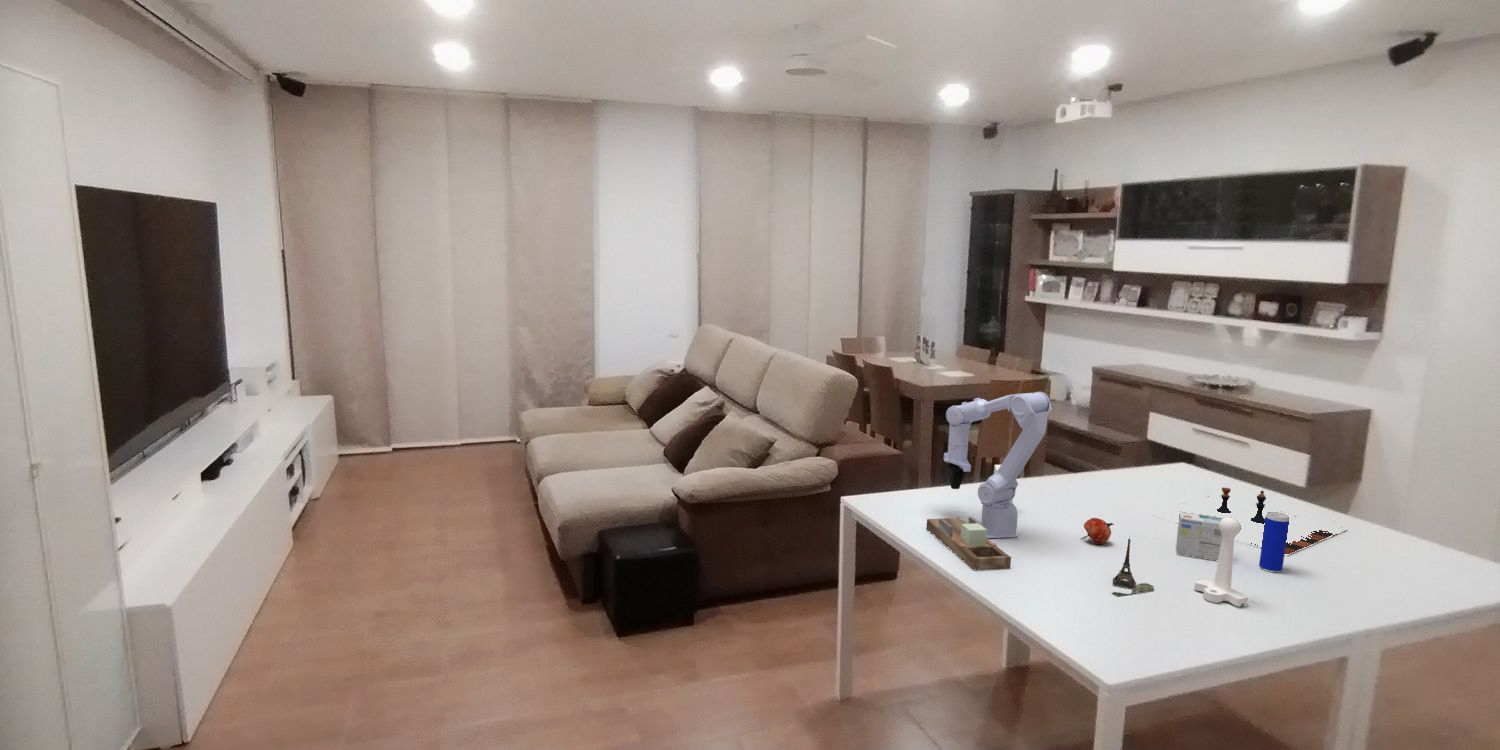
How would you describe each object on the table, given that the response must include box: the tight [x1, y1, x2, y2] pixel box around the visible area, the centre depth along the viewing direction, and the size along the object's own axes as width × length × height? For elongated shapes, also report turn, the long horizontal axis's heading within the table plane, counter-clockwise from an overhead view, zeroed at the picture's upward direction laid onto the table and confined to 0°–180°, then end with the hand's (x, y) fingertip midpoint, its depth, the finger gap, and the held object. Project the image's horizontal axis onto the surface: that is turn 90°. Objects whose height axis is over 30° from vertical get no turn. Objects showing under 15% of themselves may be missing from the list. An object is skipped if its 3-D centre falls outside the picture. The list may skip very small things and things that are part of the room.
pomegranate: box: [1080, 517, 1114, 545], centre depth 229 cm, size 7×7×10 cm
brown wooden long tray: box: [926, 516, 1012, 571], centre depth 222 cm, size 10×30×6 cm, turn 11°
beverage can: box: [1258, 512, 1289, 573], centre depth 212 cm, size 5×5×15 cm
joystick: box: [1193, 517, 1248, 607], centre depth 192 cm, size 11×8×20 cm
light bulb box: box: [1175, 511, 1223, 561], centre depth 221 cm, size 11×7×11 cm, turn 65°
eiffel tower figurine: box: [1110, 536, 1155, 597], centre depth 200 cm, size 15×10×13 cm
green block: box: [960, 523, 987, 547], centre depth 218 cm, size 5×5×4 cm
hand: (955, 488), depth 245 cm, fingers closed
